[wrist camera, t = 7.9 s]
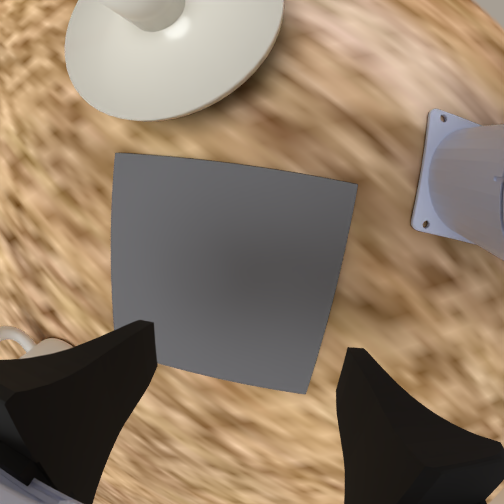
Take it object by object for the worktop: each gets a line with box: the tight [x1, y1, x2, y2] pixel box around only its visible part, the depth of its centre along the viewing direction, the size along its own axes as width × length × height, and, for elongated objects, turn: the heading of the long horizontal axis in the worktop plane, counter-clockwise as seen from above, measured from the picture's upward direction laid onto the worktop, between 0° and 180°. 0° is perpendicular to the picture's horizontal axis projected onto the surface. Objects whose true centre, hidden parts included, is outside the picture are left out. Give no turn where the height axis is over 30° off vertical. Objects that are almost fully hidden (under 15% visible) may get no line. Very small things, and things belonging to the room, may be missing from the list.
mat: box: [111, 153, 358, 394], centre depth 22 cm, size 16×16×1 cm
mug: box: [0, 326, 73, 359], centre depth 22 cm, size 12×8×10 cm
